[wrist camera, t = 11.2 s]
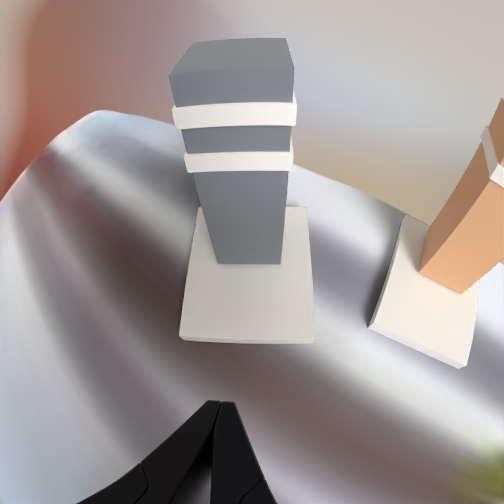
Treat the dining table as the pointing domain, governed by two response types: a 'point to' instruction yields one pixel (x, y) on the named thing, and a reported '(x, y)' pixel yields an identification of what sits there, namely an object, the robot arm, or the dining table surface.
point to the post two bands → (238, 141)
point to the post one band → (471, 218)
